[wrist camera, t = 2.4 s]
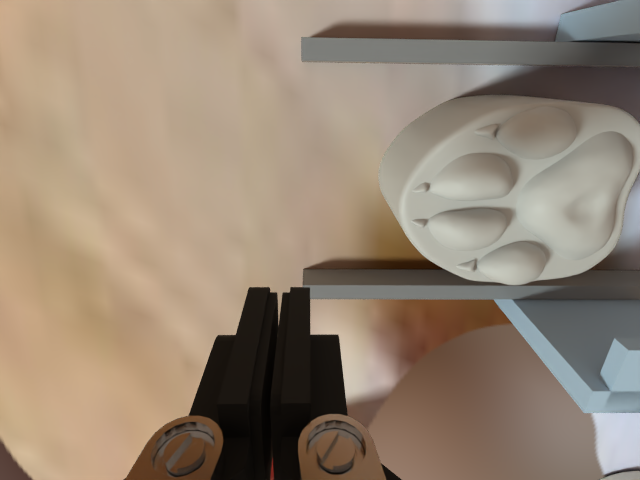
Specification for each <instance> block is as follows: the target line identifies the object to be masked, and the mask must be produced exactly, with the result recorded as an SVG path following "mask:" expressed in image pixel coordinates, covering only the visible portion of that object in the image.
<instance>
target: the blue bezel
mask: <svg viewBox="0 0 640 480" xmlns="http://www.w3.org/2000/svg"><path fill="white" fill-rule="evenodd" d="M555 42H600V43H640V0H619V1H615V2H611V3H607V4H602V5H598V6H594V7H590V8H585V9H581V10H577V11H573V12H569V13H564V14H561V18H560V22H559V26H558V31H557V35H556V39H555ZM494 301H495V302H496V303H497V305H498V306H499V307H500V308H501V310H502V311H503V312H504V313H505V315H506V316H507V317H508V318H509V320H510V321H511V322H512V323H513V325H514V326H515V327H516V328H517V330H518V331H519V332H520V333H521V335H522V336H523V337H524V338H525V340H526V341H527V342H528V343H529V345H530V346H531V347H532V348H533V349H534V351H535V352H536V353H537V355H538V356H539V357H540V358H541V360H542V361H543V362H544V363H545V365H546V366H547V367H548V368H549V370H550V371H551V372H552V373H553V375H554V376H555V377H556V378H557V380H558V381H559V382H560V383H561V385H562V386H563V387H564V388H565V390H566V391H567V392H568V393H569V395H570V396H571V397H572V398H573V400H574V401H575V402H576V403H577V404H578V406H579V407H580V408H581V410H582V411H583V412H584V413H640V300H570V299H494Z"/></svg>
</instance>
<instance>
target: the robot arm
mask: <svg viewBox="0 0 640 480" xmlns="http://www.w3.org/2000/svg"><path fill="white" fill-rule="evenodd" d="M272 457H273V472H274V480H401V479H400V478H399V477H398V476H396V475H395V474H394V473H392V472H391V471H390V470H389V469H388V468H386V467H385V466H384V465H382V464H381V463H380V460H379V457H378V454H377V451H376V448H375V445H374V442H373V439H372V437H371V436H370V434H369V432H368V430H367V429H366V428H365V427H364V426H363V425H362V424H361V423H360V422H359V421H357V420H355V419H353V418H352V417H349V416H347V407H346V398H345V388H344V379H343V370H342V361H341V352H340V343H339V336H338V335H310V287H291V289H290V293H283V295H282V304H281V312H280V321H279V326H278V299H277V293H270V288H269V287H250V288H249V289H248V293H247V297H246V300H245V304H244V307H243V311H242V315H241V318H240V322H239V326H238V329H237V333H236V335H218V336H217V337H216V339H215V342H214V345H213V348H212V350H211V353H210V356H209V359H208V362H207V365H206V368H205V370H204V373H203V376H202V379H201V382H200V385H199V388H198V391H197V393H196V396H195V399H194V402H193V405H192V408H191V411H190V413H189V416H185V417H182V418H178V419H175V420H173V421H171V422H169V423H167V424H165V425H164V426H163V427H162V428H160V429H159V430H158V431H157V432H155V433H154V435H153V436H152V437H151V438H150V440H149V441H148V442H147V444H146V445H145V447H144V449H143V450H142V452H141V454H140V455H139V457H138V459H137V460H136V462H135V464H134V465H133V467H132V469H131V470H130V472H129V474H128V475H127V477H126V478H125V479H124V480H270V478H271V467H272ZM599 480H640V471H628V472H621V473H617V474H613V475H610V476H607V477H604V478H602V479H599Z"/></svg>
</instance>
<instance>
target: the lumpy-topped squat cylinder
mask: <svg viewBox="0 0 640 480" xmlns="http://www.w3.org/2000/svg"><path fill="white" fill-rule="evenodd" d="M639 172H640V123H639V122H638V121H637V120H636V119H635V118H634V117H633V116H632V115H631V114H630V113H628V112H626V111H625V110H623V109H620V108H617V107H615V106H610V105H605V104H597V103H587V102H578V101H568V100H559V99H550V98H540V97H531V96H517V95H479V96H469V97H462V98H456V99H452V100H449V101H446V102H444V103H442V104H440V105H438V106H436V107H435V108H433V109H431V110H430V111H428V112H426V113H425V114H423V115H422V116H420V117H419V118H417V119H416V120H414V121H413V122H412V123H410V124H409V125H408V126H407V127H405V128H404V129H403V130H402V131H401V132H400V133H399V135H398V136H397V137H396V138H395V139H394V141H393V142H392V143H391V145H390V146H389V148H388V149H387V151H386V152H385V154H384V156H383V158H382V161H381V163H380V167H379V185H380V189H381V192H382V194H383V196H384V198H385V200H386V201H387V203H388V205H389V207H390V208H391V210H392V212H393V213H394V215H395V217H396V219H397V220H398V222H399V224H400V225H401V227H402V229H403V231H404V232H405V234H406V236H407V237H408V238H409V240H410V241H411V243H412V244H413V245H414V246H415V247H416V248H417V250H418V251H419V252H420V253H421V254H422V255H423V256H424V257H426V258H427V259H428V260H430V261H431V262H433V263H435V264H436V265H438V266H440V267H442V268H443V269H445V270H447V271H449V272H451V273H453V274H456V275H458V276H460V277H462V278H465V279H468V280H473V281H481V282H497V283H503V284H507V285H522V284H526V283H529V282H531V281H537V280H548V279H556V278H564V277H568V276H573V275H577V274H580V273H583V272H585V271H587V270H589V269H590V268H592V267H593V266H595V265H596V264H598V263H599V262H601V261H602V260H603V259H604V258H605V257H606V256H607V255H608V254H609V253H610V252H611V251H612V250H613V249H614V247H615V246H616V244H617V242H618V240H619V238H620V235H621V231H622V227H623V219H624V211H625V206H626V202H627V198H628V195H629V193H630V190H631V188H632V186H633V184H634V182H635V180H636V178H637V176H638V173H639Z"/></svg>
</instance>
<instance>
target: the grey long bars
mask: <svg viewBox="0 0 640 480" xmlns="http://www.w3.org/2000/svg"><path fill="white" fill-rule="evenodd" d="M301 56H302V62H337V63H400V64H463V65H525V66H588V67H640V43H600V42H543V41H485V40H428V39H371V38H314V37H301ZM303 287H310V299H570V300H640V270H587V271H585V272H583V273H580V274H577V275H573V276H568V277H564V278H556V279H548V280H537V281H531V282H529V283H526V284H522V285H507V284H503V283H497V282H481V281H473V280H468V279H465V278H462V277H460V276H458V275H456V274H453V273H451V272H449V271H447V270H396V269H303Z"/></svg>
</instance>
